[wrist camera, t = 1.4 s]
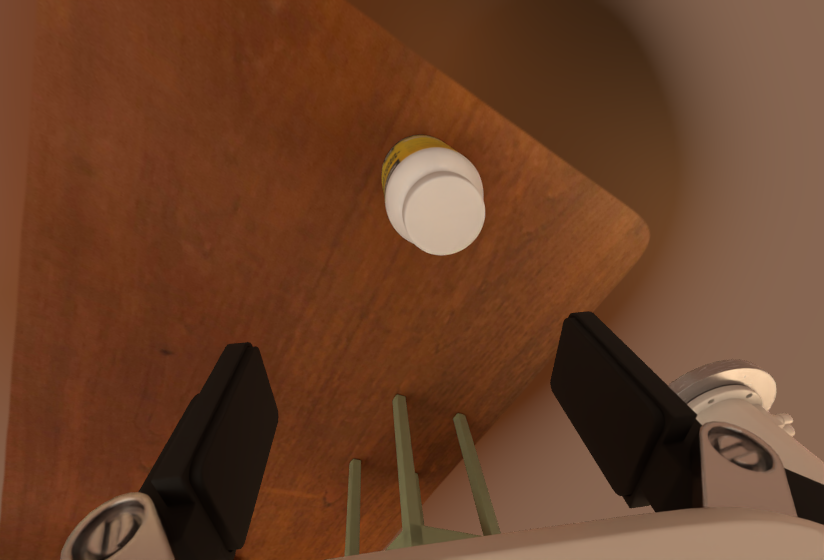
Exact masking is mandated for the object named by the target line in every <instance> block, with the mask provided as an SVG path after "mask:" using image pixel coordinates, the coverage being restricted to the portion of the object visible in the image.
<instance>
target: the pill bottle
mask: <svg viewBox="0 0 824 560" xmlns="http://www.w3.org/2000/svg"><path fill="white" fill-rule="evenodd" d="M382 186H383V192H384V198H385V205H386V211H387V214H388V217H389V220H390V222H391V224H392V225H393V227H394V229H395V230H396V231H397V232H398V233H399V234H400V235H401V236H402V237H403V238H405V239H406V240H408V241H409V242H411V243H414V244H415V245H416V246H417V247H418V248H420V249H421V250H423V251H425V252H427V253H430V254H434V255H449V254H453V253H456V252H459V251H461V250H463V249H465V248H466V247H467V246H469V245H470V244H471V243H472V242H473V241H474V240H475V239H476V237H477V236H478V235H479V233H480V231H481V229H482V226H483V224H484V219H485V205H484V201H483V186H482V181H481V178H480V176H479V173H478V171H477V170H476V168H475V167H474V165H473V164H472V163H471V162H470V161H469V160H468V159H467V158H466V157H464V156H463V155H462V154H460V153H459V152H457V151H456V150H454V149H453V148H451V147H450V146H448V145H447V144H445V143H444V142H442V141H441V140H439V139H437V138H435V137H432V136H428V135H413V136H410V137H407V138H404V139H403V140H401V141H399V142H398V143H397V144H396V145H394V146H393V147H392V149H391V150H390V151H389V153H388V154H387V156H386V158H385V160H384V163H383V167H382Z"/></svg>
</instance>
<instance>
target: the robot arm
mask: <svg viewBox="0 0 824 560" xmlns="http://www.w3.org/2000/svg"><path fill="white" fill-rule="evenodd" d="M550 383H551V389H552V392H553V393H554V395H555V397H556V398H557V400H558V401H559V403H560V405H561V406H562V408H563V410H564V411H565V412H566V414H567V416H568V418H569V419H570V421H571V423H572V424H573V426H574V427H575V429H576V431H577V432H578V434H579V435H580V437H581V439H582V440H583V442H584V443H585V445H586V447H587V448H588V450H589V452H590V453H591V455H592V456H593V458H594V460H595V461H596V463H597V464H598V466H599V468H600V469H601V471H602V472H603V474H604V476H605V477H606V479H607V481H608V482H609V484H610V485H611V487H612V489H613V490H614V491H615V493H616V494H618V495H619V496H623V498H624V499H625V501H626V503H627V504H628V506H629V508H636V507H643V506H649V505H651V506H652V508H653V509H654V511H655V512H656V513H648V514H639V515H631V516H624V517H616V518H609V519H601V520H595V521H587V522H580V523H573V524H565V525H558V526H551V527H544V528H537V529H530V530H523V531H516V532H509V533H502V534H495V535H488V536H481V537H474V538H467V539H460V540H453V541H447V542H440V543H433V544H426V545H419V546H412V547H405V548H399V549H392V550H386V551H379V552H372V553H366V554H359V555H352V556H346V557H339V558H332V559H326V560H824V462H823V461H821V460H820V459H819V458H818V457H816V456H815V455H814V454H813V453H811V452H810V451H809V450H808V449H806V448H805V447H804V446H803V445H802V444H800V443H799V442H797V441H796V440H795V439H794V438H793V437H792V436H794V435H795V430H794V428H793V427H792V426H791V425H790V423H792V422H793V419H792V417H791V416H790V415H789V414H787V413H780V414H775V415H772V414H770V413H769V412H768V411H767V410H765V409H764V408H763V407H762V404H763V403H762V398H761V397H760V395H759V394H758V393H756V392H755V391H754V390H752V389H751V388H749V387H747V386H743V385H728V386H722V387H719V388H715V389H712V390H710V391H707V392H705V393H703V394H701V395H699V396H698V397H696V398H694V399H693V400H691V401H690V402H689V403H687V404H686V403H685V402H684V401H683V400H682V399H681V398H680V397H679V396H678V395H677V394H676V393H675V392H674V391H673V390H672V389H671V388H670V387H669V386H668V385H667V384H666V383H665V382H663V381H662V380H661V379H660V378H659V377H658V376H657V375H656V374H655V373H654V372H653V371H652V370H651V369H650V368H649V367H648V366H647V365H646V364H645V363H644V362H643V361H642V360H641V359H640V358H639V357H638V356H637V355H636V354H635V353H634V352H633V351H632V350H631V349H630V348H629V347H627V345H625V344H624V343H623V342H622V341H621V340H620V339H619V338H618V337H617V336H616V335H615V334H614V333H613V332H612V331H611V330H610V329H609V328H608V327H607V326H606V325H605V324H604V323H603V322H602V321H601V320H600V319H599V318H598V317H597V316H596V315H595V314H594V313H592V312H578V313H571V314H570V315H569V317H568V318H566V319H565V320H564V322H563V327H562V331H561V336H560V340H559V345H558V349H557V354H556V358H555V363H554V367H553V372H552V376H551V382H550ZM277 423H278V409H277V406H276V403H275V400H274V396H273V393H272V390H271V387H270V383H269V380H268V377H267V374H266V370H265V367H264V364H263V361H262V357H261V354H260V351H259V348H258V347H253V346H252V344H251V343H249V342H246V343H235V344H228V345H227V346H226V347H225V349H224V351H223V353H222V354H221V356H220V358H219V360H218V362H217V363H216V365H215V367H214V369H213V370H212V372H211V374H210V376H209V378H208V379H207V381H206V383H205V385H204V386H203V388H202V390H201V392H200V394H197V395H196V396H194V398H193V399H192V400H191V402H190V404H189V405H188V407H187V409H186V411H185V412H184V414H183V416H182V418H181V419H180V421H179V423H178V424H177V426H176V428H175V430H174V431H173V433H172V435H171V437H170V438H169V440H168V442H167V444H166V445H165V447H164V449H163V451H162V452H161V454H160V456H159V457H158V459H157V461H156V463H155V464H154V466H153V468H152V470H151V471H150V473H149V475H148V477H147V478H146V480H145V482H144V483H143V485H142V487H141V489H140V490H139V492H135V493H127V494H123V495H120V496H117V497H115V498H113V499H111V500H109V501H107V502H105V503H103V504H102V505H100V506H99V507H98V508H96V509H95V510H94V511H92V512H91V513H89V514H88V515H87V516H86V517H85V518H84V519H83V520H82V521H81V522H80V523H79V524H78V525H77V526H76V528H75V529H74V530H73V532H72V533H71V534H70V536H69V537H68V538H67V540H66V542H65V545H64V547H63V549H62V551H61V558H60V560H233V559H234V556H235V552H236V549H241V548H242V547H243V545H244V543H245V540H246V536H247V533H248V529H249V525H250V522H251V518H252V514H253V511H254V507H255V503H256V500H257V496H258V493H259V489H260V485H261V482H262V478H263V474H264V471H265V467H266V463H267V460H268V456H269V452H270V449H271V445H272V442H273V438H274V434H275V431H276V427H277Z"/></svg>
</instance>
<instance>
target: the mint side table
mask: <svg viewBox="0 0 824 560" xmlns="http://www.w3.org/2000/svg"><path fill="white" fill-rule="evenodd" d="M393 413H394V426H395V439H396V451H397V464H398V477H399V489H400V502H401V515H402V527H403V531H402V532H401V533H400V534H399V535H398V537H397V538H396V539H395V540H394V541H393V542H392V543H391V544H390V546H389V547H388V548H387V549H386V550H392V549H399V548H405V547H412V546H419V545H426V544H433V543H440V542H447V541H453V540H460V539H467V538H474V537H481V536H478V535H473V534H468V533H462V532H456V531H450V530H445V529H439V528H433V527H428V526H424V520H423V512H422V504H421V496H420V489H419V481H418V474H417V473H415V471H414V463H413V455H412V446H411V438H410V430H409V422H408V414H407V406H406V397H405V396H401V395H398V394H397V395H396V396H395V398H394V399H393ZM453 420H454V424H455V428H456V432H457V436H458V439H459V443H460V447H461V451H462V455H463V459H464V462H465V466H466V470H467V474H468V477H469V481H470V485H471V489H472V493H473V497H474V501H475V505H476V508H477V512H478V516H479V520H480V524H481V527H482V531H483V535H484V536H488V535H495V534H501V532H500V529H499V526H498V523H497V519H496V516H495V513H494V509H493V506H492V503H491V499H490V496H489V493H488V489H487V486H486V483H485V479H484V476H483V473H482V470H481V466H480V463H479V460H478V456H477V453H476V450H475V446H474V443H473V440H472V436H471V433H470V430H469V426H468V423H467V420H466V416H465V415H463V414H460V413H457V414H456V416H455V417H454V418H453ZM360 482H361V460H357V459H353V460H352V461H351V462H350V465H349V485H348V504H347V524H346V544H345V557H346V556H352V555H359V532H360ZM386 550H385V551H386Z"/></svg>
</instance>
